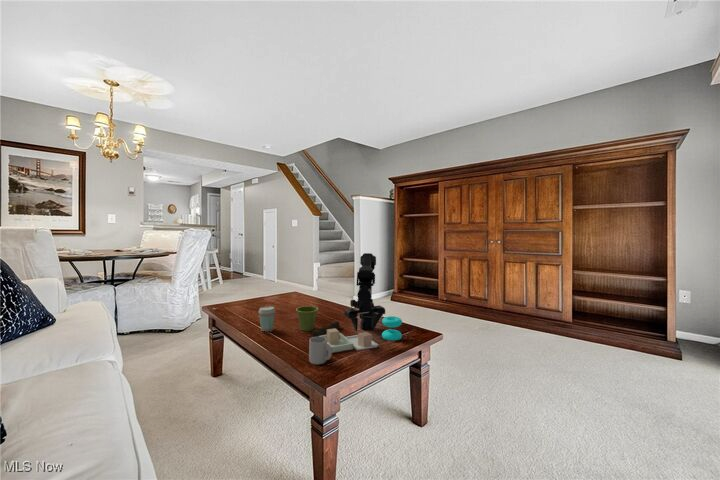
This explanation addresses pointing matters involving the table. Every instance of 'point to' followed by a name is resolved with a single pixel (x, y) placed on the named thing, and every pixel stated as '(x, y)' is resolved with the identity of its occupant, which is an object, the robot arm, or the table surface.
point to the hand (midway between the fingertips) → (364, 329)
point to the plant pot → (307, 317)
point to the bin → (340, 344)
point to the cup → (319, 350)
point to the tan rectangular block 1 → (332, 336)
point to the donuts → (391, 333)
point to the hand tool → (325, 329)
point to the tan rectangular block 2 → (364, 339)
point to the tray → (355, 344)
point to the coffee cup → (266, 318)
